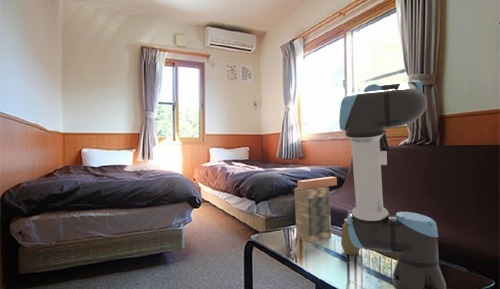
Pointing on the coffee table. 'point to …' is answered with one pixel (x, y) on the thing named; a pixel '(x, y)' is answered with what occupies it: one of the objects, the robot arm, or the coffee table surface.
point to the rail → (317, 183)
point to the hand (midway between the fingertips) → (376, 165)
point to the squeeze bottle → (348, 239)
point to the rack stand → (312, 214)
